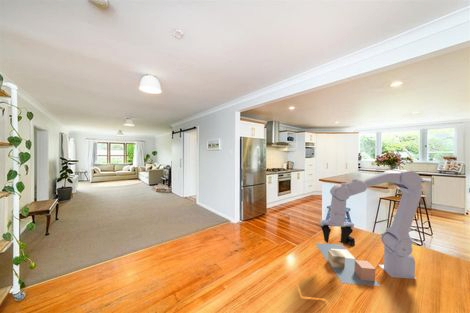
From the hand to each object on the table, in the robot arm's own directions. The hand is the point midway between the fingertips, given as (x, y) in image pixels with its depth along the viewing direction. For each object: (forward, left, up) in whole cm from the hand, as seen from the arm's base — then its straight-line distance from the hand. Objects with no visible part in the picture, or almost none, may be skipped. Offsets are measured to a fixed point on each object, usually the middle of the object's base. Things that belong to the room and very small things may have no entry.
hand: (334, 242), depth 81 cm
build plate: (-17, -20, -12) cm, 28 cm away
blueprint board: (-5, -3, -11) cm, 12 cm away
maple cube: (-1, 0, -10) cm, 10 cm away
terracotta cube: (-9, +7, -10) cm, 15 cm away
